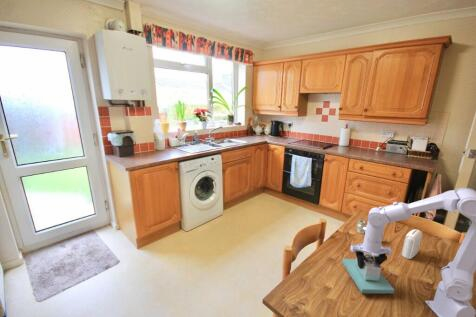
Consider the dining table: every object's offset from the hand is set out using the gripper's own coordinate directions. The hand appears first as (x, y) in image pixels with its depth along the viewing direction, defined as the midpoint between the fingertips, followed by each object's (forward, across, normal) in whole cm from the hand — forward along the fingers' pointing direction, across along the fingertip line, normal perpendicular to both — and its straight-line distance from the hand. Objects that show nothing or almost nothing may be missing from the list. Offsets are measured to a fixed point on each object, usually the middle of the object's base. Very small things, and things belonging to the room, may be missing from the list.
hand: (367, 267), depth 87 cm
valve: (+6, +15, +32) cm, 35 cm away
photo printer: (+6, +28, +18) cm, 34 cm away
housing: (+2, 0, 0) cm, 2 cm away
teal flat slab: (+6, 0, 0) cm, 6 cm away
